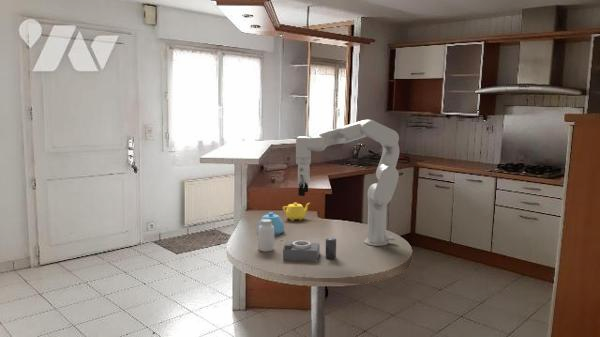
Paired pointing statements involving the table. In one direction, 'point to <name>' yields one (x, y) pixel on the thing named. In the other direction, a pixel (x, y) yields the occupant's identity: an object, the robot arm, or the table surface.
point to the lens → (330, 248)
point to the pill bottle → (266, 235)
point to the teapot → (295, 211)
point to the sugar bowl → (274, 222)
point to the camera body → (301, 251)
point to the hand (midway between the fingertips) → (303, 193)
